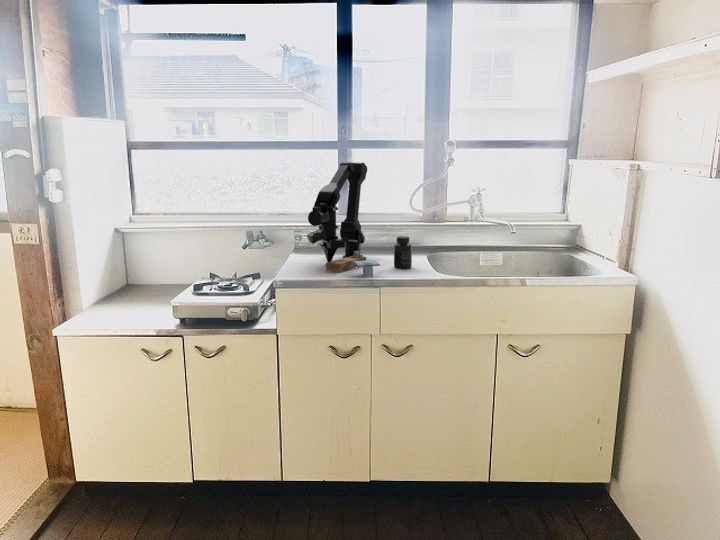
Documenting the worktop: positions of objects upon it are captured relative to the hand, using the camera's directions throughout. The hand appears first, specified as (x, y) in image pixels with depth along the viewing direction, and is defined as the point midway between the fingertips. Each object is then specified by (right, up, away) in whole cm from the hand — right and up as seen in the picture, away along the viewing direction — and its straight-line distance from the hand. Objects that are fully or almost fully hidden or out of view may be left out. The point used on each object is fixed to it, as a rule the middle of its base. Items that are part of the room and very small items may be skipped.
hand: (329, 262), depth 206 cm
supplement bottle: (+29, -2, -3) cm, 29 cm away
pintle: (+11, -1, +2) cm, 11 cm away
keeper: (+14, -5, -14) cm, 21 cm away
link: (+7, -2, -3) cm, 8 cm away
